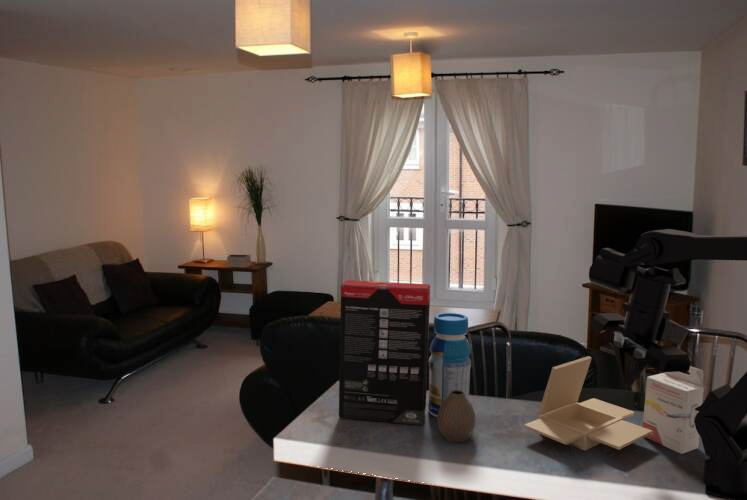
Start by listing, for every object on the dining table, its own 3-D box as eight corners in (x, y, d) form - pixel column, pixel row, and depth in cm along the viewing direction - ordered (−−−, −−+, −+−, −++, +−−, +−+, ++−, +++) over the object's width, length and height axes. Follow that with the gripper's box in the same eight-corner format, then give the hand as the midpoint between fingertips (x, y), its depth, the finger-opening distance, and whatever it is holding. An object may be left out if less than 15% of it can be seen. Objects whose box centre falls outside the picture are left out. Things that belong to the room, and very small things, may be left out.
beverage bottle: (461, 424, 123) (464, 323, 120) (420, 415, 127) (423, 318, 124) (474, 409, 130) (478, 314, 128) (436, 402, 134) (439, 309, 131)
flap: (577, 401, 127) (591, 357, 123) (541, 415, 119) (555, 369, 116) (574, 399, 127) (588, 356, 124) (538, 413, 120) (552, 367, 117)
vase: (464, 449, 112) (465, 402, 111) (430, 439, 116) (431, 393, 115) (481, 436, 118) (483, 390, 117) (448, 426, 122) (449, 382, 120)
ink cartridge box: (640, 436, 118) (646, 360, 116) (657, 431, 121) (663, 356, 119) (682, 455, 111) (689, 374, 109) (699, 449, 114) (706, 369, 111)
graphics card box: (427, 413, 128) (430, 280, 124) (425, 427, 121) (429, 287, 117) (344, 407, 130) (345, 277, 127) (337, 421, 124) (338, 284, 120)
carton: (666, 437, 118) (667, 422, 118) (599, 472, 104) (600, 455, 104) (590, 410, 130) (591, 396, 130) (521, 438, 117) (521, 422, 116)
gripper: (728, 323, 101) (704, 410, 105) (648, 284, 118) (630, 360, 122) (672, 323, 98) (650, 414, 102) (598, 283, 115) (581, 362, 119)
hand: (627, 385), depth 111 cm, fingers closed
